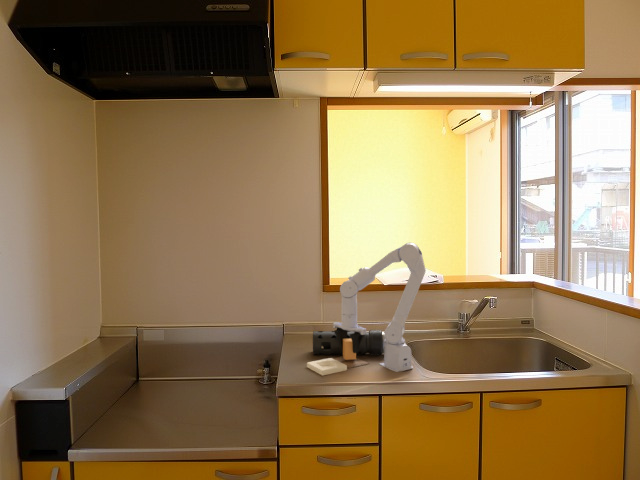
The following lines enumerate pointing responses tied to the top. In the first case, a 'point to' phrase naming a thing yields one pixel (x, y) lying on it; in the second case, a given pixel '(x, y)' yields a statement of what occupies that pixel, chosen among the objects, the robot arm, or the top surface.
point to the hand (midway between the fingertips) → (349, 350)
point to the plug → (348, 349)
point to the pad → (351, 362)
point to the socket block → (326, 366)
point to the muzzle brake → (330, 343)
